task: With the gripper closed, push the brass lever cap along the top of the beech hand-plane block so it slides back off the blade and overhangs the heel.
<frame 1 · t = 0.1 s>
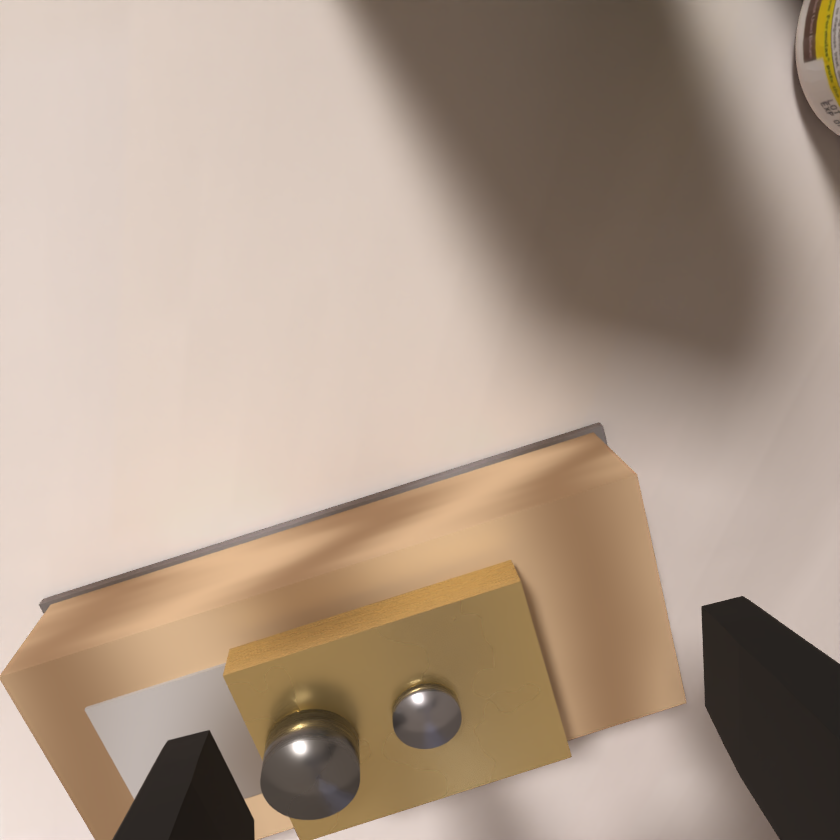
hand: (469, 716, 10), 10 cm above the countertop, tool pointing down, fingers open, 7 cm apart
lever cap: (405, 718, 17), point 5 cm above the countertop, slide at 0.0 cm
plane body: (360, 614, 22), on the countertop
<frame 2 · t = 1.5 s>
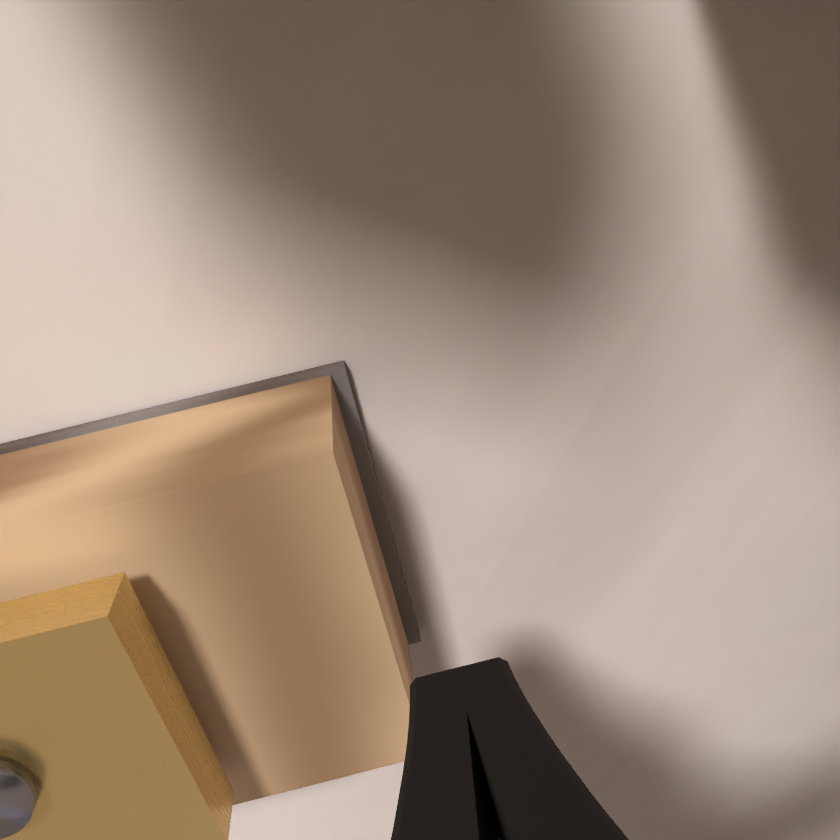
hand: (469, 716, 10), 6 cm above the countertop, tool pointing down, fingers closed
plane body: (11, 602, 16), on the countertop
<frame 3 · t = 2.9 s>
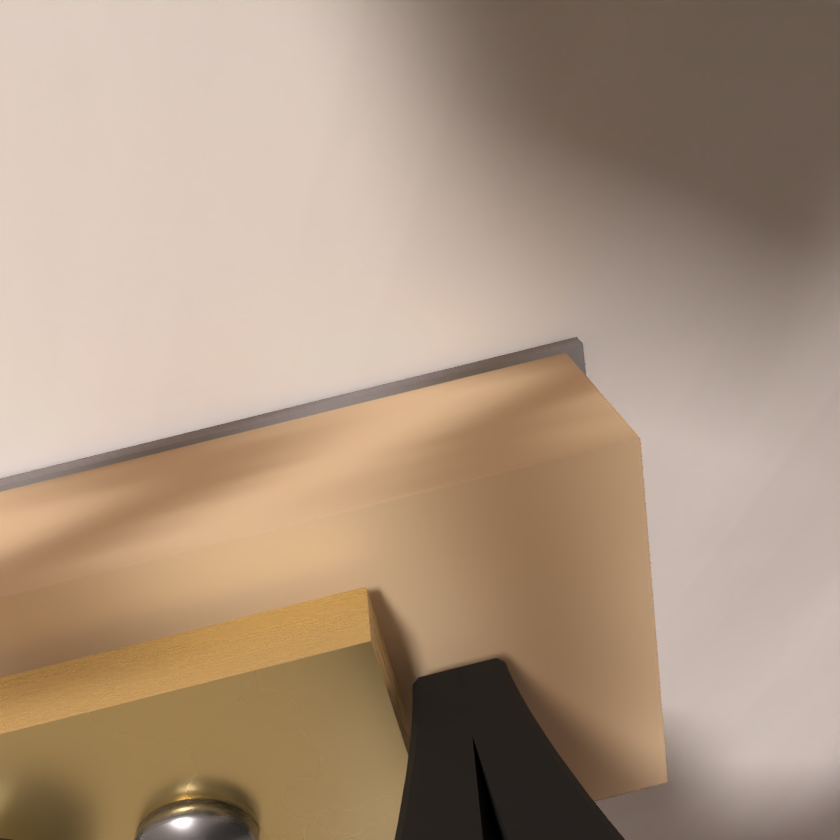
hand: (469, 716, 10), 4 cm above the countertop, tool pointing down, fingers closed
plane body: (183, 609, 14), on the countertop
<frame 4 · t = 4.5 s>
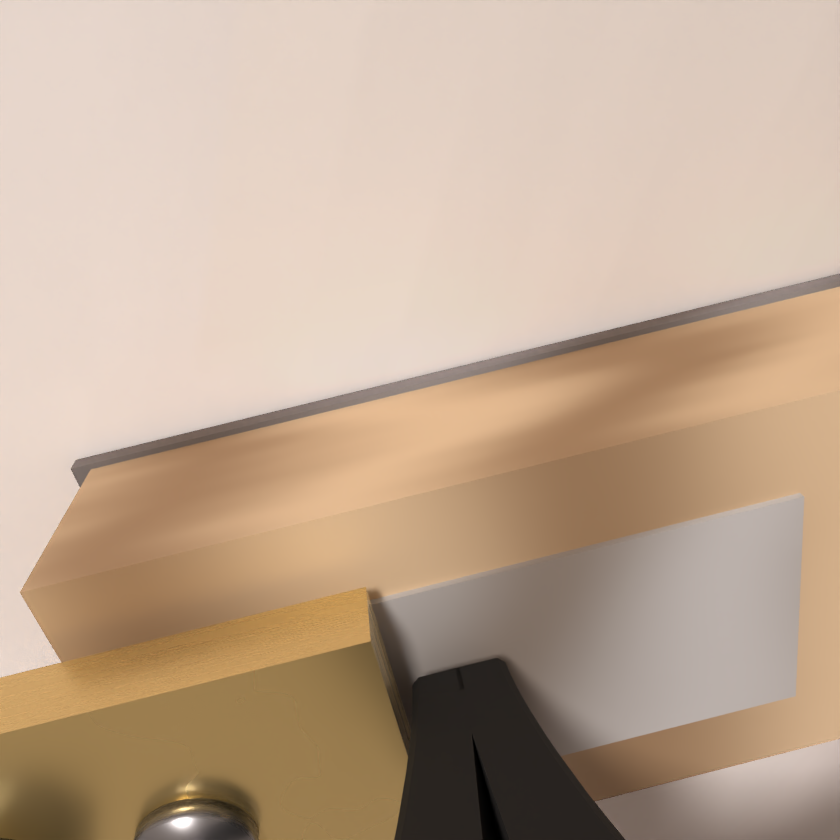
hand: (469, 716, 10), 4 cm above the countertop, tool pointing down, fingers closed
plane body: (568, 513, 14), on the countertop
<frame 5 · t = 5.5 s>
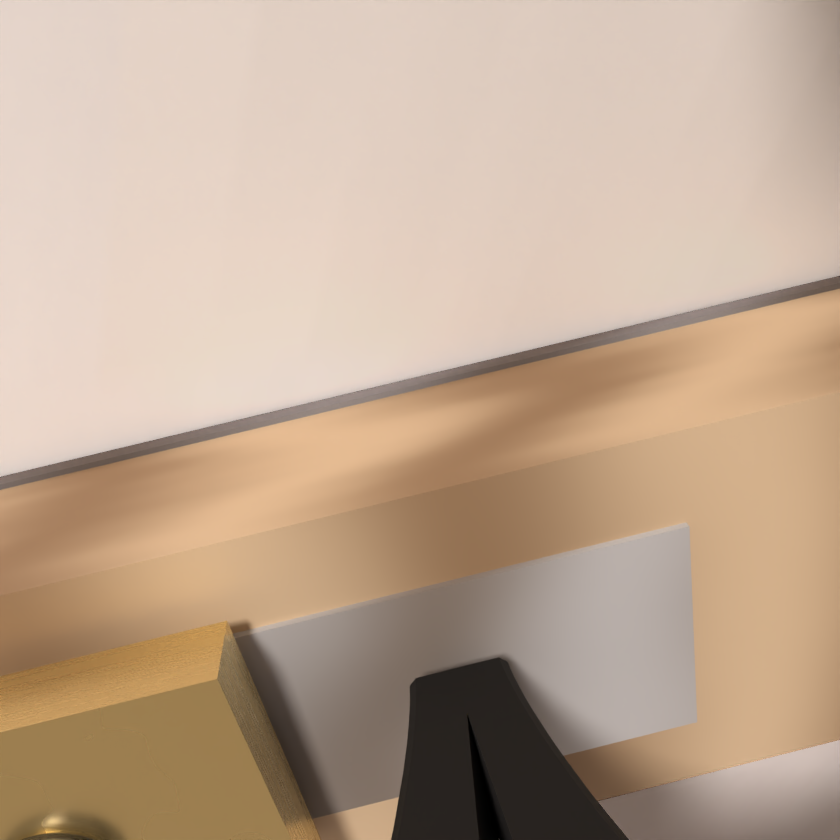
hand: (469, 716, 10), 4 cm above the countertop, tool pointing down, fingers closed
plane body: (485, 534, 14), on the countertop
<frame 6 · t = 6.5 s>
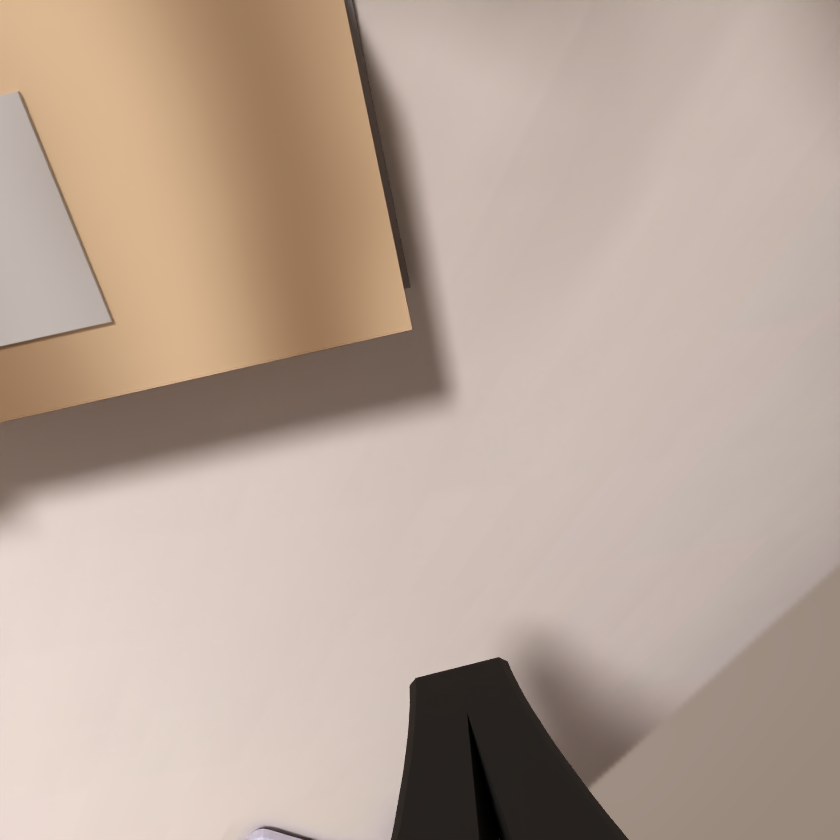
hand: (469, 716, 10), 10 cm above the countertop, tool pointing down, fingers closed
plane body: (6, 209, 16), on the countertop
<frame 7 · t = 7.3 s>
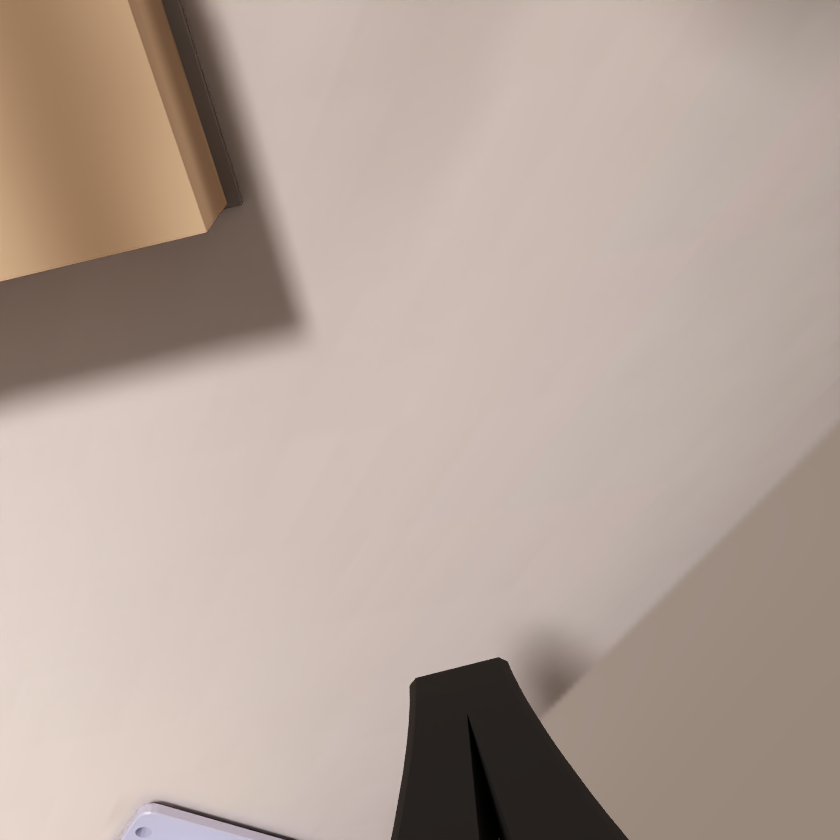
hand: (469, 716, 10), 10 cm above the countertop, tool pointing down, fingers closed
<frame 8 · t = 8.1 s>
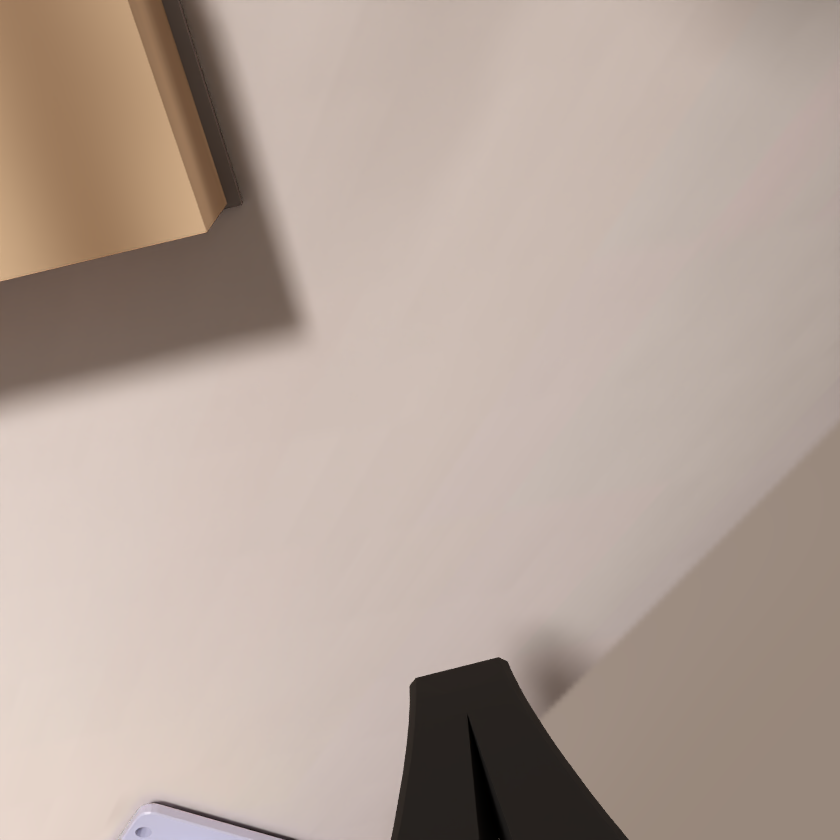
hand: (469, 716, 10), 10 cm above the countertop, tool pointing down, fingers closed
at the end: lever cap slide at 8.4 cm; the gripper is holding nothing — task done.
